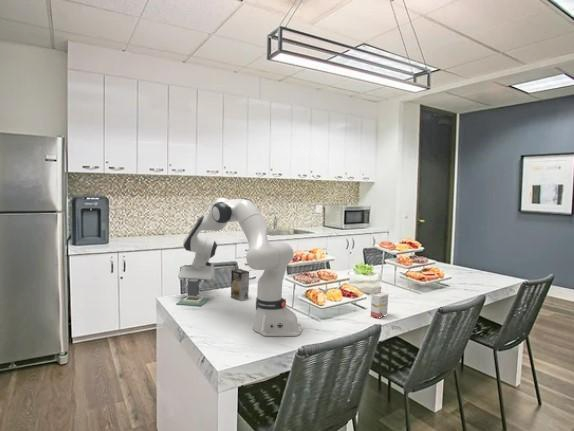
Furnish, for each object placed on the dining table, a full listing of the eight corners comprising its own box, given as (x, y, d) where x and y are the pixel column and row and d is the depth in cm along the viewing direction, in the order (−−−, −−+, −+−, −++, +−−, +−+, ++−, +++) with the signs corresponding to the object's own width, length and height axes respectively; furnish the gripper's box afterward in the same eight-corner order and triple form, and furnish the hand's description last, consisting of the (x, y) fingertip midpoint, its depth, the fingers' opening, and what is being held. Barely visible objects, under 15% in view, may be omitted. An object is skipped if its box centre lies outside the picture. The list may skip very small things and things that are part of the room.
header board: (209, 298, 210) (209, 295, 210) (201, 306, 196) (201, 303, 196) (186, 297, 211) (186, 294, 211) (176, 304, 197) (176, 301, 197)
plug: (199, 294, 205) (199, 279, 204) (196, 296, 201) (196, 281, 200) (190, 293, 206) (190, 278, 205) (187, 295, 202) (188, 280, 201)
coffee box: (230, 297, 214) (230, 270, 212) (238, 295, 218) (239, 268, 217) (240, 301, 207) (241, 273, 206) (249, 298, 212) (249, 271, 211)
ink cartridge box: (378, 319, 185) (380, 290, 184) (370, 316, 189) (371, 288, 188) (387, 315, 191) (389, 287, 190) (379, 313, 195) (380, 285, 194)
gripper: (180, 262, 210) (173, 283, 201) (215, 264, 208) (209, 285, 199) (183, 268, 215) (176, 289, 206) (217, 270, 213) (212, 291, 204)
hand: (193, 287), depth 202 cm, fingers closed on plug, 5 cm apart
